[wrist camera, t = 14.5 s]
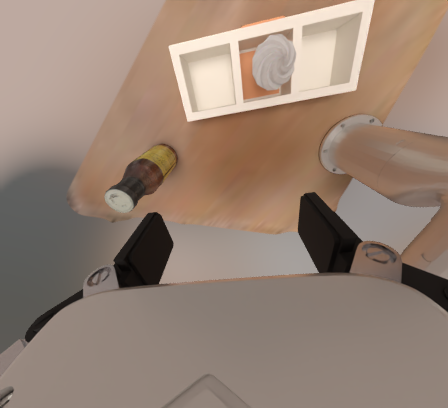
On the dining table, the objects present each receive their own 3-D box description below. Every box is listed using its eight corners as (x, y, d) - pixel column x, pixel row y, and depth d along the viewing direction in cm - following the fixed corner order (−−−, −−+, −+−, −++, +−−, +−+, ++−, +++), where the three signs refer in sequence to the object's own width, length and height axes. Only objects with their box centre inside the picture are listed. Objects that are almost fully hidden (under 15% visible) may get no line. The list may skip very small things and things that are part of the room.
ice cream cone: (258, 45, 28) (283, 0, 15) (283, 69, 29) (323, 45, 17) (239, 80, 30) (245, 65, 18) (262, 100, 32) (283, 100, 19)
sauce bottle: (152, 140, 38) (89, 171, 21) (179, 147, 38) (139, 182, 21) (152, 167, 41) (98, 212, 24) (177, 172, 42) (141, 221, 25)
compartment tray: (344, 13, 26) (377, -12, 20) (332, 92, 32) (355, 90, 26) (179, 52, 30) (167, 40, 24) (194, 118, 35) (187, 121, 29)
